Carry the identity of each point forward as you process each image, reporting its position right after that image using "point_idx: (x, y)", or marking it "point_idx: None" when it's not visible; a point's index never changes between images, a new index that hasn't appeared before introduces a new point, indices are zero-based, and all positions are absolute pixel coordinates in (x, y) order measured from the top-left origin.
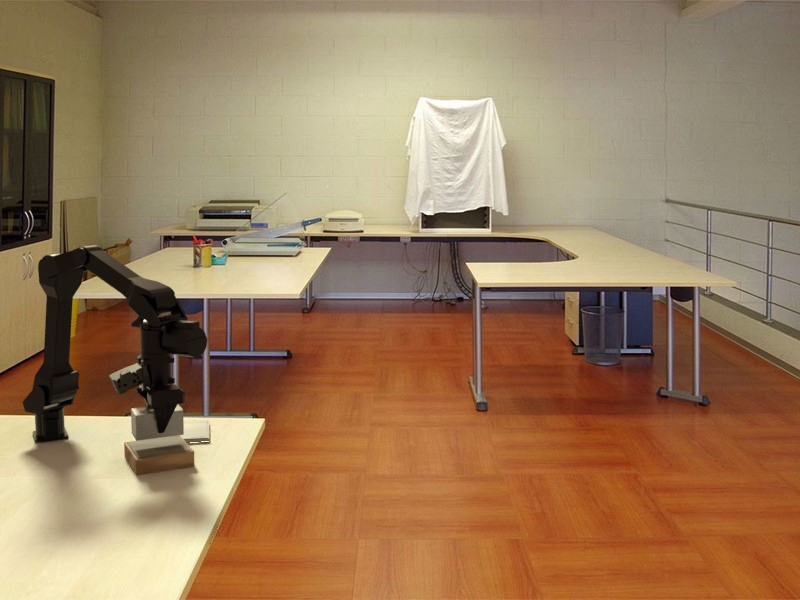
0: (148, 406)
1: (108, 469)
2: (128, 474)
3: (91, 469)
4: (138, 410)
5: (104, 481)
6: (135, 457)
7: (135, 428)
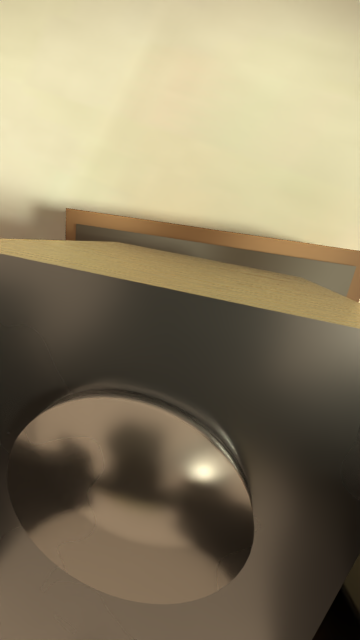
0: (344, 615)
1: (230, 131)
2: (127, 192)
3: (282, 48)
4: (198, 406)
5: (100, 71)
6: (99, 219)
7: (94, 245)
